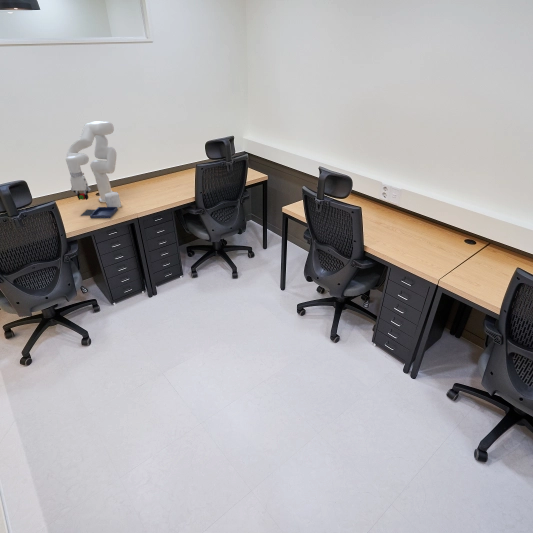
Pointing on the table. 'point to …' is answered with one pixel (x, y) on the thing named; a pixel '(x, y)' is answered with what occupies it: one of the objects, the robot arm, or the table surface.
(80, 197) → the strawberry
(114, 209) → the tray
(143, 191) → the table surface
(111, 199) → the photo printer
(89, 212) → the mat
